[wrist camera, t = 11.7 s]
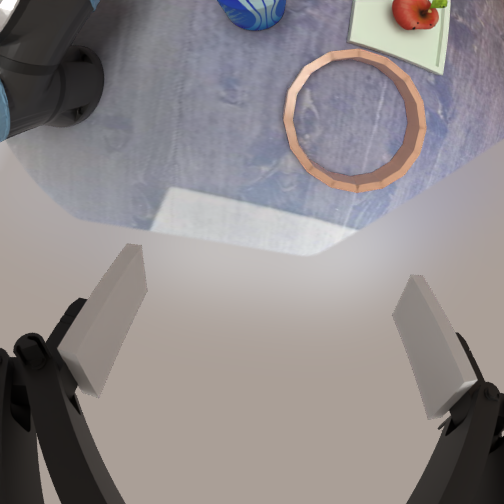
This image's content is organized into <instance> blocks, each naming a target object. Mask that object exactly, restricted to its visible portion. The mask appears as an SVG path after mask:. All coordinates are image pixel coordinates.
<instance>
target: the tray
mask: <svg viewBox="0 0 504 504" xmlns="http://www.w3.org/2000/svg"><path fill="white" fill-rule="evenodd" d="M393 1H394V0H353V2H352V10H351V17H350V24H349V31H348V37H347V43H351V44H354V45H358V46H361V47H365V48H368V49H371V50H374V51H377V52H380V53H383V54H386V55H389V56H392V57H394V58H397V59H400V60H402V61H405V62H408V63H410V64H413V65H415V66H418V67H420V68H422V69H425V70H427V71H429V72H431V73H434V74H436V75H443V70H444V63H445V56H446V48H447V40H448V30H449V18H450V0H447V2H448V4H447V7H445V8H436V9H437V11H438V14H439V20H438V22H437V24H436V26H435V27H433V28H431V29H427V30H424V29H417V30H405V29H403V28H402V27H401V26H400V25H399V24H398V23H397V22H396V20H395V18H394V16H393V12H392V3H393ZM429 1H430V3H431V4H432V1H433V0H429Z"/></svg>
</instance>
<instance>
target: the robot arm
mask: <svg viewBox="0 0 504 504" xmlns="http://www.w3.org/2000/svg"><path fill="white" fill-rule="evenodd" d="M99 1H100V0H0V142H2V141H4V140H5V139H8V138H10V137H12V136H15V135H17V134H20V133H22V132H25V131H27V130H30V129H32V128H35V127H38V126H40V125H47V126H53V127H59V128H62V127H68V126H72V125H75V124H78V123H80V122H81V121H83V120H85V119H86V118H87V117H88V116H89V115H90V114H91V113H92V112H93V110H94V109H95V107H96V106H97V104H98V102H99V99H100V97H101V94H102V90H103V83H104V74H103V68H102V65H101V62H100V60H99V58H98V57H97V55H96V54H95V53H94V52H93V51H92V50H90V49H88V48H86V47H83V46H70V45H71V44H72V42H73V40H74V39H75V37H76V35H77V34H78V32H79V31H80V29H81V28H82V26H83V24H84V23H85V21H86V20H87V19H88V17H89V16H90V14H91V13H92V12H94V11H95V10H96V7H97V4H98V3H99ZM146 293H147V284H146V277H145V270H144V262H143V253H142V245H135V244H126V246H125V247H124V248H123V250H122V251H121V252H120V254H119V255H118V257H117V258H116V259H115V261H114V262H113V263H112V265H111V266H110V268H109V269H108V270H107V272H106V273H105V275H104V276H103V278H102V279H101V280H100V282H99V284H98V285H97V287H96V288H95V289H94V291H93V292H92V294H91V295H90V297H89V298H88V299H83V298H78V299H77V300H76V301H75V302H73V303H72V304H71V305H70V306H69V307H68V309H67V310H66V312H65V313H64V315H63V316H62V318H61V319H60V322H59V323H58V324H57V325H56V327H55V328H54V330H53V332H52V334H51V335H50V336H49V338H48V340H47V341H46V343H45V341H44V339H43V338H42V336H40V335H39V334H36V333H28V334H25V335H23V336H21V337H20V338H19V339H18V340H17V342H16V343H15V345H14V351H13V352H14V354H15V355H16V357H9V355H8V354H7V352H6V351H5V350H4V349H2V348H0V504H44V499H43V494H42V488H41V480H40V472H39V464H38V452H37V437H38V440H39V444H40V447H41V450H42V453H43V457H44V460H45V463H46V466H47V468H48V471H49V474H50V477H51V479H52V482H53V484H54V487H55V490H56V492H57V494H58V497H59V499H60V501H61V504H125V502H124V500H123V498H122V497H121V495H120V493H119V491H118V490H117V488H116V486H115V484H114V482H113V480H112V478H111V476H110V474H109V472H108V470H107V468H106V466H105V464H104V462H103V460H102V458H101V456H100V454H99V451H98V449H97V447H96V445H95V442H94V440H93V438H92V435H91V433H90V430H89V428H88V425H87V423H86V421H85V418H84V415H83V412H82V410H81V407H80V404H79V401H78V398H77V396H76V394H75V390H76V388H77V386H79V388H80V389H81V391H82V392H83V393H85V394H88V395H91V396H94V397H97V398H99V397H100V394H101V392H102V390H103V387H104V385H105V383H106V380H107V378H108V375H109V373H110V371H111V368H112V366H113V364H114V361H115V359H116V357H117V355H118V352H119V350H120V348H121V346H122V343H123V341H124V339H125V337H126V335H127V333H128V330H129V328H130V326H131V324H132V322H133V320H134V317H135V315H136V313H137V311H138V309H139V307H140V305H141V303H142V301H143V299H144V297H145V295H146ZM392 316H393V319H394V321H395V324H396V326H397V329H398V331H399V334H400V337H401V339H402V342H403V344H404V347H405V350H406V353H407V355H408V358H409V361H410V364H411V367H412V370H413V373H414V376H415V378H416V382H417V385H418V388H419V391H420V394H421V398H422V401H423V404H424V407H425V411H426V414H427V418H428V420H430V419H435V418H441V417H442V416H443V415H444V414H445V413H446V412H447V411H450V413H451V416H450V417H449V418H447V419H446V420H445V421H444V422H443V423H442V424H441V425H440V426H439V427H438V429H441V428H442V427H443V426H444V425H445V426H444V429H443V430H442V433H441V436H440V438H439V441H438V443H437V445H436V448H435V450H434V452H433V454H432V456H431V458H430V460H429V463H428V465H427V467H426V469H425V471H424V473H423V475H422V476H421V479H420V480H419V482H418V484H417V486H416V488H415V489H414V491H413V493H412V495H411V496H410V498H409V500H408V501H407V503H406V504H504V436H503V437H502V431H504V394H503V393H500V392H499V390H498V388H497V387H496V386H495V385H494V384H493V383H490V382H485V381H484V378H483V376H482V374H481V372H480V369H479V367H478V365H477V363H476V361H475V359H474V357H473V355H472V353H471V351H469V347H468V345H467V343H466V341H465V340H464V338H463V337H462V336H461V335H460V334H459V333H455V331H454V329H453V327H452V326H451V324H450V322H449V320H448V318H447V316H446V315H445V313H444V311H443V309H442V307H441V306H440V304H439V302H438V300H437V299H436V297H435V295H434V293H433V292H432V290H431V288H430V287H429V285H428V283H427V282H426V280H425V278H424V277H423V276H421V275H410V278H409V280H408V282H407V285H406V287H405V289H404V291H403V293H402V296H401V298H400V300H399V302H398V304H397V306H396V308H395V310H394V312H393V314H392ZM36 433H37V436H36Z"/></svg>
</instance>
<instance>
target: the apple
mask: <svg viewBox="0 0 504 504" xmlns="http://www.w3.org/2000/svg"><path fill="white" fill-rule="evenodd" d="M447 4H448V2H447V0H433V1H432V4H431V3H430V1H429V0H394V1H393V3H392V12H393V16H394V18H395V20H396V22H397V23H398V24H399V25H400V26H401V27H402V28H403V29H405V30H417V29H424V30H427V29H431V28H433V27H435V26H436V24H437V22H438V20H439V14H438V11H437V9H436V8H445V7H447Z"/></svg>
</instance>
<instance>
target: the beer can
mask: <svg viewBox="0 0 504 504" xmlns="http://www.w3.org/2000/svg"><path fill="white" fill-rule="evenodd" d="M217 1H218V2H219V4H220V5H221V7H222V8H223V10H224V11H225V13H226V14H227V16H228V17H229V19H230V20H231V21H232V22H233V23H234V24H235V25H237V26H239V27H241V28H243V29H247V30H263V29H267V28H269V27H271V26H273V25H275V24H276V23H277V22H278V21H279V20H280V19H281V17H282V16H283V14H284V10H285V4H286V0H217Z"/></svg>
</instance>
